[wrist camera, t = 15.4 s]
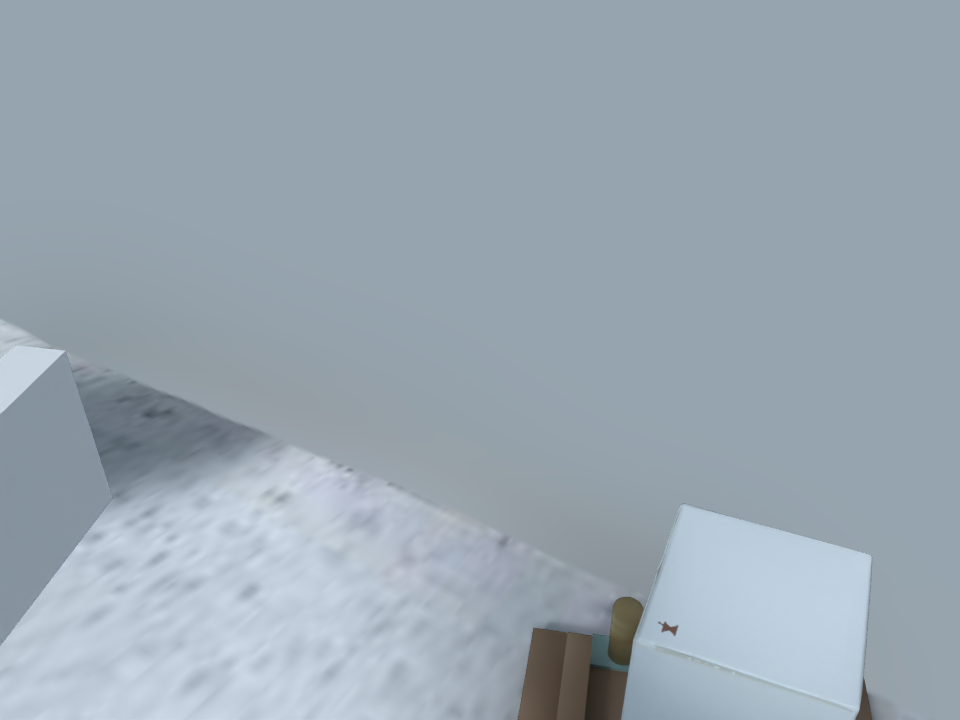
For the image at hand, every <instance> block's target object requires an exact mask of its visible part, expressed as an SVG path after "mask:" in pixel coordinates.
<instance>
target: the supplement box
mask: <svg viewBox="0 0 960 720" xmlns="http://www.w3.org/2000/svg"><path fill="white" fill-rule="evenodd" d="M871 571H872V556H871V555H870V554H867V553H863V552H859V551H856V550H852V549H849V548H845V547H842V546H838V545H835V544H831V543H827V542H824V541H820V540H816V539H812V538H809V537H805V536H801V535H798V534H794V533H791V532H787V531H783V530H780V529H776V528H772V527H768V526H764V525H761V524H757V523H753V522H749V521H745V520H741V519H737V518H733V517H730V516H727V515H723V514H720V513H717V512H713V511H710V510H706V509H703V508H699V507H696V506H693V505H689V504H686V503H683V504H682V505H681V506H680V507H679V510H678V513H677V516H676V518H675V521H674V524H673V527H672V530H671V533H670V536H669V539H668V542H667V544H666V547H665V550H664V553H663V556H662V559H661V562H660V564H659V567H658V569H657V572H656V575H655V579H654V582H653V585H652V589H651V591H650V594H649V597H648V600H647V603H646V606H645V608H644V611H643V614H642V617H641V620H640V623H639V626H638V628H637V631H636V634H635V636H634V639H633V646H632V653H631V659H630V665H629V672H628V678H627V684H626V691H625V697H624V704H623V710H622V717H621V720H855V719H856V716H857V714H858V712H859V710H860V704H861V696H862V688H863V677H864V665H865V654H866V643H867V629H868V616H869V615H868V614H869V602H870V588H871Z"/></svg>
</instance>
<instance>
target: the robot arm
mask: <svg viewBox="0 0 960 720" xmlns="http://www.w3.org/2000/svg"><path fill="white" fill-rule="evenodd" d="M112 499H113V496H112V493H111V490H110V487H109V484H108V481H107V478H106V475H105V472H104V469H103V466H102V462H101V459H100V456H99V453H98V450H97V447H96V444H95V441H94V438H93V435H92V432H91V428H90V425H89V422H88V419H87V416H86V413H85V410H84V407H83V404H82V401H81V397H80V394H79V391H78V388H77V385H76V382H75V379H74V376H73V373H72V370H71V367H70V363H69V360H68V357H67V354H66V351H63V350H53V349H44V348H35V347H26V346H17V345H15V346H14V347H13V348H12V349H11V350H10V351H8V352H7V353H6V354H5V355H4V356H3V357H2V358H1V359H0V646H1V644H2V643H3V642H4V640H5V639H6V638H7V636H8V635H9V634H10V633H11V631H12V630H13V629H14V627H15V626H16V625H17V623H18V622H19V621H20V619H21V618H22V617H23V615H24V614H25V613H26V612H27V610H28V609H29V608H30V606H31V605H32V604H33V602H34V601H35V600H36V598H37V597H38V596H39V594H40V593H41V592H42V591H43V589H44V588H45V587H46V585H47V584H48V583H49V581H50V580H51V579H52V577H53V576H54V575H55V573H56V572H57V571H58V570H59V568H60V567H61V566H62V564H63V563H64V562H65V560H66V559H67V558H68V556H69V555H70V554H71V552H72V551H73V550H74V549H75V547H76V546H77V545H78V543H79V542H80V541H81V539H82V538H83V537H84V535H85V534H86V533H87V531H88V530H89V529H90V528H91V526H92V525H93V524H94V522H95V521H96V520H97V518H98V517H99V516H100V514H101V513H102V512H103V510H104V509H105V508H106V507H107V505H108V504H109V503H110V501H111V500H112Z"/></svg>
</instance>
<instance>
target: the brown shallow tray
mask: <svg viewBox="0 0 960 720" xmlns="http://www.w3.org/2000/svg"><path fill="white" fill-rule="evenodd" d="M642 614H643V607H642V605H641V603H640V602H639V601H637V600H636V599H634V598H631V597H622V598H619V599H617V600H616V601H615V603H614V605H613V612H612V620H611V629H610V636H603V635H597V634H593V636H591V635H584V634H577V633H571V632H568V633H566V632H559V631H553V630H546V629H539V628H533V634H532V640H531V646H530V652H529V658H528V663H527V669H526V675H525V681H524V687H523V693H522V698H521V704H520V710H519V716H518V720H621V717H622V710H623V704H624V697H625V691H626V684H627V678H628V672H629V665H630V659H631V653H632V646H633V639H634V636H635V634H636V631H637V628H638V626H639V623H640V620H641V617H642ZM855 720H872V717H871V712H870V707H869V701H868V696H867V691H866V686H865V681H864V677H863V688H862V696H861V704H860V710H859V712H858V714H857V716H856V719H855Z"/></svg>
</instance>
